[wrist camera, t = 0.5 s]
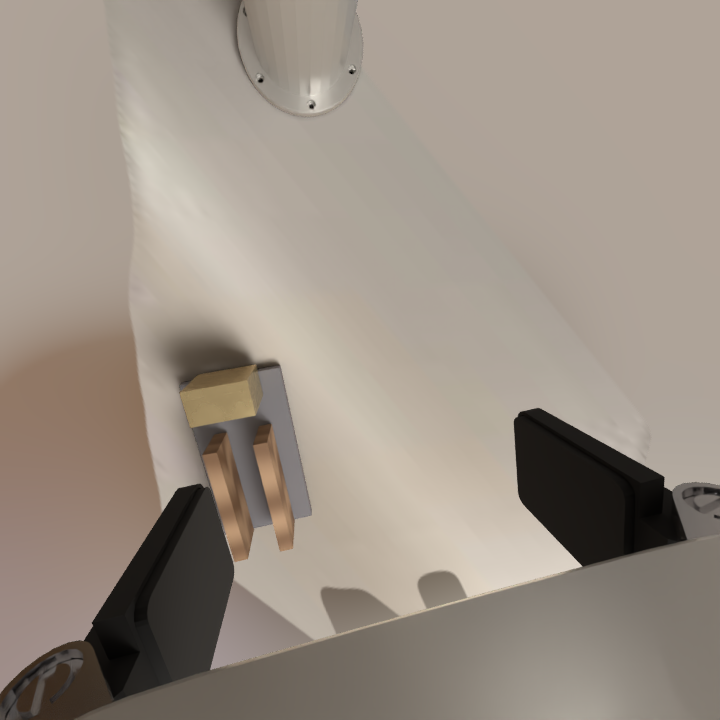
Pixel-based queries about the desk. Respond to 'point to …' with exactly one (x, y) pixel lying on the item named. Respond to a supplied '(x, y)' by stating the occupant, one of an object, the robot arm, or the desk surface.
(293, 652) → the robot arm
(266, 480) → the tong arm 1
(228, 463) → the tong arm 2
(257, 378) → the tan block
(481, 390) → the desk surface
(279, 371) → the tong mat
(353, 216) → the desk surface
